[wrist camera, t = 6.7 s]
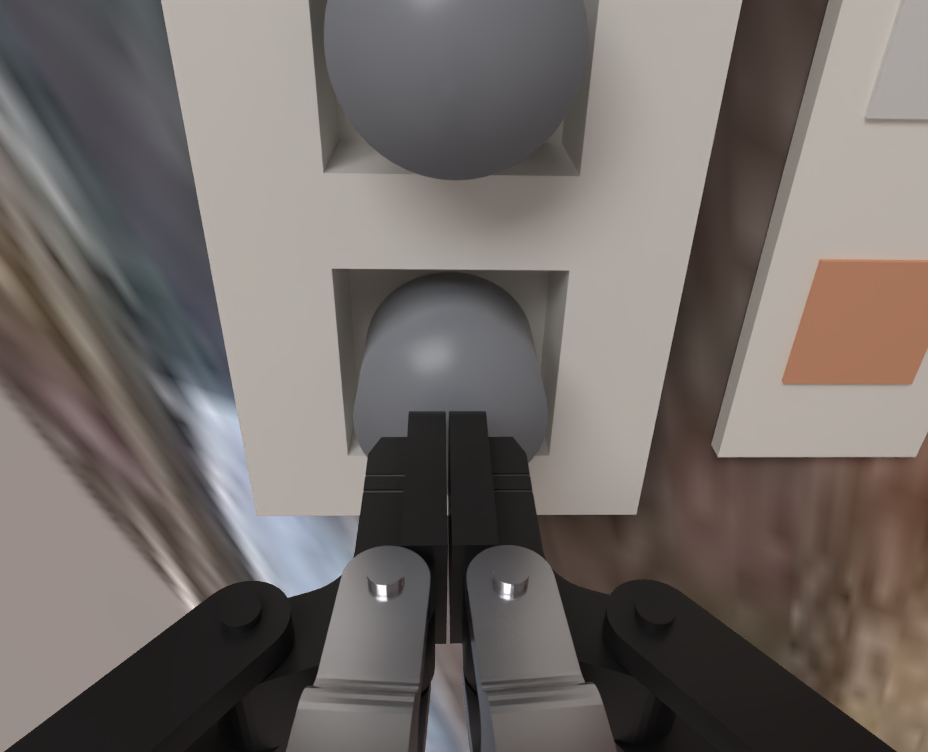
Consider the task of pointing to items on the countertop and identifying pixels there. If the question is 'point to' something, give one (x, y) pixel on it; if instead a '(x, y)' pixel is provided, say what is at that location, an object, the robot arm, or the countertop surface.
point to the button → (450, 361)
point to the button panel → (447, 238)
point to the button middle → (455, 78)
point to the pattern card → (844, 256)
